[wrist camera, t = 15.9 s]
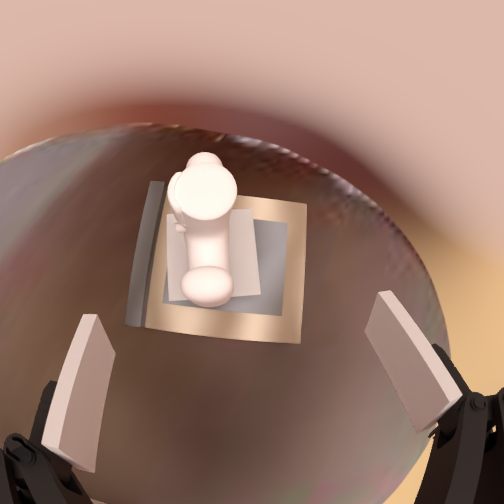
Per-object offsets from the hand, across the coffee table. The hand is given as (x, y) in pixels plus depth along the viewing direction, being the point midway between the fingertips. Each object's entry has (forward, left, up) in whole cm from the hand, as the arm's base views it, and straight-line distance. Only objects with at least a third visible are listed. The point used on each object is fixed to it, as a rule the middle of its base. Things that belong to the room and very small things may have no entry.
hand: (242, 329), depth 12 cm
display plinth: (-2, +6, -17) cm, 18 cm away
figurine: (-2, +6, -13) cm, 14 cm away
